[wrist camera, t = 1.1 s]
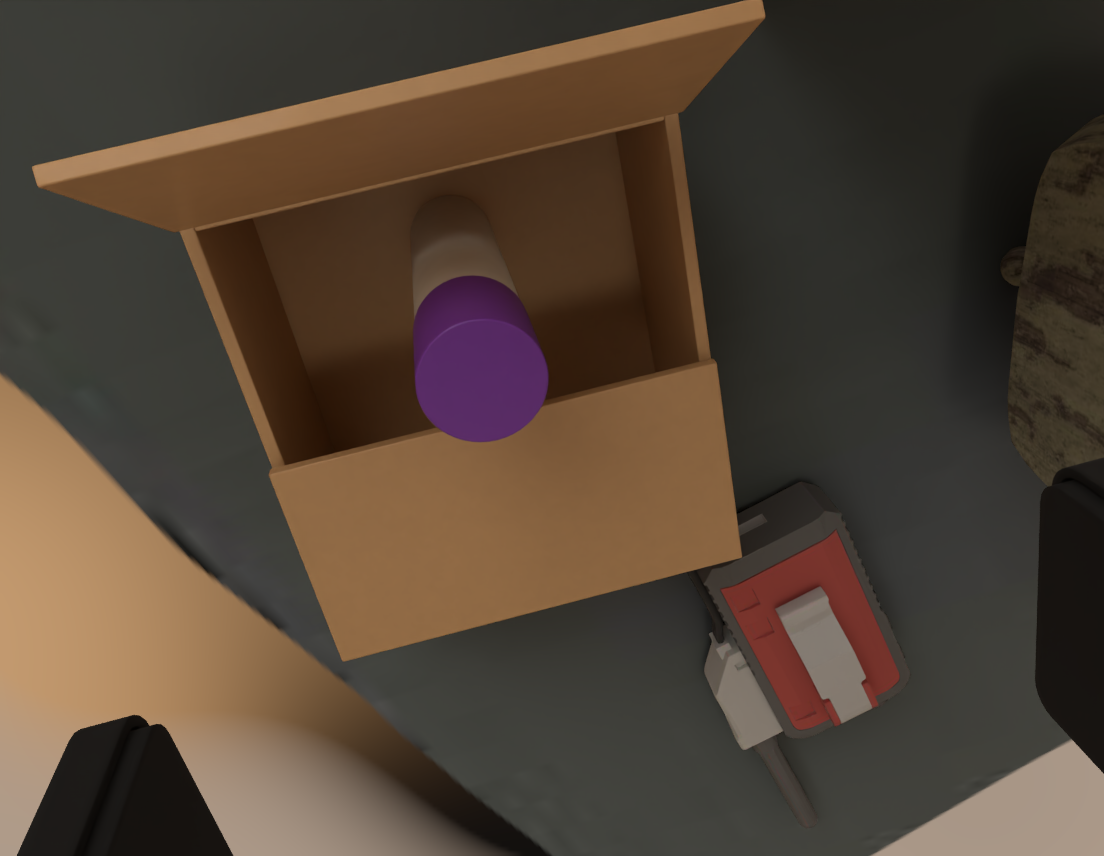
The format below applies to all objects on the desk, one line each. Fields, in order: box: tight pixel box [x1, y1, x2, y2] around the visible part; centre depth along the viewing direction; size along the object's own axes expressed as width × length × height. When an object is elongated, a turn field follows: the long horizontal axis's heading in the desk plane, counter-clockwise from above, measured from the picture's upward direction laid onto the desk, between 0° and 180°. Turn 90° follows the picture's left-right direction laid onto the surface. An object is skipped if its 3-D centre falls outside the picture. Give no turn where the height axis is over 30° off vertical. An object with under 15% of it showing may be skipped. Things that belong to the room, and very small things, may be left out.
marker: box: [410, 195, 549, 442], centre depth 27 cm, size 3×3×14 cm
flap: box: [32, 0, 765, 232], centre depth 20 cm, size 7×14×1 cm
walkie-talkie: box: [688, 481, 911, 828], centre depth 42 cm, size 9×4×20 cm
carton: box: [180, 113, 742, 662], centre depth 31 cm, size 15×14×9 cm
